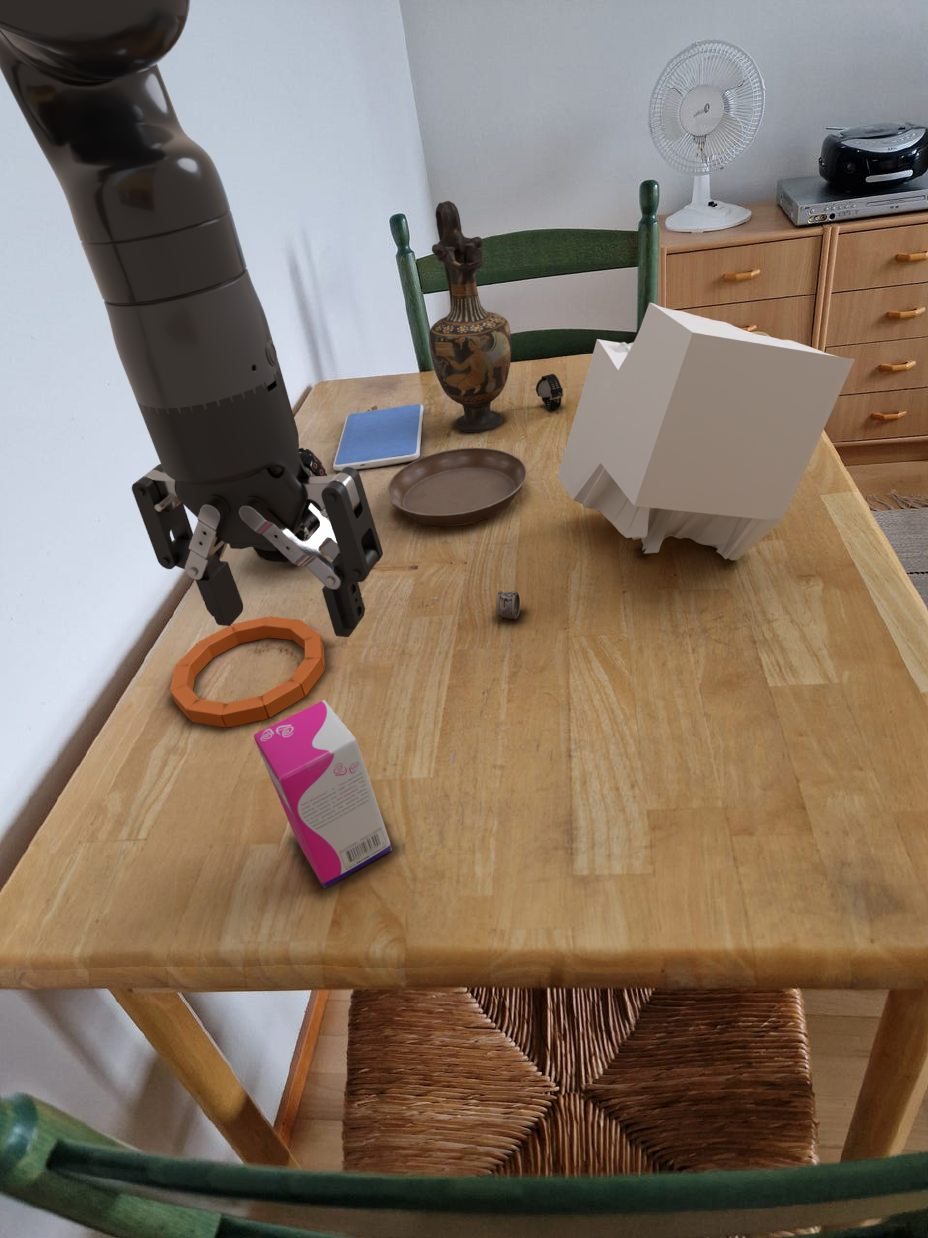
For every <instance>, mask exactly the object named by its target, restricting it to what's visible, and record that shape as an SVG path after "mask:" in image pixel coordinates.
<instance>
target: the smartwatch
mask: <svg viewBox="0 0 928 1238" xmlns="http://www.w3.org/2000/svg"><path fill="white" fill-rule="evenodd" d="M535 392H536V394H537V397H539V398H541V401H542V402H543V404H544V405H545V407H546V408H547V410H549V411H550V410H554V409H559V408H560V407H561V405H562V398H563V397H564V390H563V387H562V385H561V382H560V380H559V378H558V377H557V375H556V374H555V373H551V374H550V373H549V374H546V375H543V376H541V378H540V379H539V380H538V381H537V384H536V385H535Z"/></svg>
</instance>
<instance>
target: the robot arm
mask: <svg viewBox="0 0 928 1238" xmlns="http://www.w3.org/2000/svg"><path fill="white" fill-rule="evenodd" d="M190 6H191V0H0V71H1V73H2V76H3V77H4V79H5V82H6V84H7V86H8V88H9V90H10V92H11V94H12V96H13V98H14V100H15V102H16V103H17V105H18V108H19V110H20V112H21V114H22V116H23V118H24V120H25V121H26V123H27V125H28V127H29V129H30V132H31V133H32V135H33V136H34V139H35V140H36V142H37V145H38V146H39V148H40V150H41V151H42V154H43V155H44V158H45V159H46V160H47V162H48V164H49V166H50V168H51V169H52V172H53V173H54V175H55V177H56V179H57V181H58V183H59V185H60V187H61V189H62V191H63V192H62V193H63V194H64V197H65V199H66V201H67V205H68V207H69V211H70V214H71V218H72V220H73V223H74V227H75V230H76V233H77V235H78V239H79V241H81V242H80V244H81V247H82V250H83V251H84V254H85V258H86V259H87V262H88V265H89V268H90V270H91V273H92V275H93V277H94V278H93V279H94V280H95V283H96V285H97V288H98V290H99V293H100V296H101V298H102V300H103V303H104V307H105V309H106V313H107V317H108V321H109V325H110V329H111V332H112V338H113V341H114V345H115V348H116V351H117V355H118V357H119V359H120V362H121V365H122V367H123V370H124V373H125V375H126V377H127V380H128V383H129V386H130V388H131V391H132V393H133V395H134V399H135V400H136V403H137V405H138V409H139V411H140V413H141V416H142V420H143V421H144V424H145V426H146V429H147V432H148V434H149V437H150V439H151V442H152V444H153V447H154V450H155V452H156V455H157V457H158V460H159V462H160V463H159V464H157V465H156V466H155V467H153V468H152V469H150V470H149V471H148V472H147V473H146V474H144V475H143V476H142V477H140V478H139V479H138V480H136V481H135V482H134V483H132V485H131V491H132V494H133V497H134V500H135V502H136V505H137V509H138V511H139V513H140V516H141V518H142V521H143V524H144V527H145V530H146V532H147V535H148V538H149V542H150V543H151V546H152V548H153V552H154V554H155V558H156V560H157V562H158V564H159V565H160V566H161V567H162V568H164V569H166V570H173V569H174V568H175V567H177V568H179V569H182V570H184V572H185V573H186V575H187V576H188V577H189V578H191V579H192V580H195V583H196V585H197V589H198V591H199V593H200V596H201V597H202V601H203V603H204V606H205V608H206V610H207V612H208V613H209V614H210V616H211V617H212V618H213V619H214V620H215V623H216V624H217V625H218V626H222V627H224V626H225V627H228V626H230V625H232V624H234V622H235V621H236V620H237V619H238V618H239V617H240V616H241V614H242V613H243V611H244V603H243V599H242V596H241V594H240V592H239V591H240V590H239V589H238V587H237V583H236V581H235V577H234V575H233V572H232V570H231V566H230V564H229V562H228V561H224V560H221V559H222V558H223V557H224V554H225V552H226V549H227V547H228V545H229V548H230V549H231V550H232V549H233V550H244V549H248V548H253V547H255V548H258V549H262V550H267V551H277V550H279V551H280V552H281V553H282V554H283V555H284V556H286V557H287V558H288V559H289V560H290V561H289V562H290V563H292V564H293V565H294V566H296V567H297V566H298V567H301V566H303V567H304V568H306V569H307V570H308V571H309V572H310V573H311V574H312V575H313V576H314V577H315V578H316V579H318V581H320V583H322V584H323V585H324V586H323V587H322V588H321V592H322V596H323V598H324V602H325V605H326V608H327V612H328V615H329V618H330V622H331V626H332V629H333V631H334V635H335V636H336V637H339V638H340V637H341V638H350V636H351V635H352V634H353V632H354V631H355V629H356V628H357V627H358V626H359V624H360V622H361V621H362V619H363V618H364V616H365V613H366V606H365V603H364V599H363V596H362V593H361V588H360V584H359V583H363V582H364V581H366V580H367V578H368V576H370V573H371V572H372V570H373V569H374V568H375V566H376V564H377V563H378V562H380V560H381V558H382V557H383V555H384V550H383V547H382V544H381V541H380V537H379V533H378V531H377V528H376V525H375V524H376V523H375V520H374V517H373V514H372V511H371V507H370V503H369V501H368V497H367V494H366V491H365V487H364V484H363V481H362V478H361V475H360V473H359V471H357V470H358V469H354V468H351V467H345V468H343V469H342V470H341V471H338V473H337V474H335V475H328V476H314V477H312V475H311V474H310V473H309V471H308V470H307V469H306V468H305V466H304V465H303V463H302V461H301V459H300V455H299V448H300V439H299V438H300V436H299V429H298V426H297V423H296V419H295V416H294V412H293V408H292V405H291V400H290V398H289V394H288V391H287V387H286V384H285V383H286V382H285V379H284V376H283V372H282V369H281V366H280V362H279V359H278V355H277V350H276V346H275V344H274V340H273V337H272V334H271V333H272V332H271V330H270V326H269V322H268V320H267V317H266V313H265V311H264V308H263V304H262V303H261V300H260V298H259V296H258V293H257V291H256V289H255V285H254V284H253V281H252V278H251V276H250V273H249V270H248V268H247V262H246V259H245V256H244V252H243V248H242V245H241V242H240V238H239V235H238V231H237V227H236V225H235V224H236V223H235V220H234V217H233V212H232V211H231V206H230V202H229V199H228V196H227V192H226V190H225V185H224V184H223V183H224V182H223V181H222V177H221V176H220V173H219V170H218V169H217V167H216V164H215V162H214V160H213V159H212V156H210V154H209V153H208V152H207V151H206V150H205V149H204V148H203V146H200V145H199V143H197V142H196V141H194V140H193V139H192V138H191V137H190V136H189V135H188V134H187V133H186V132H185V131H184V129H183V126H182V125H181V122H180V121H179V118H178V116H177V112H176V111H175V108H174V105H173V102H172V101H171V97H170V95H169V93H168V89H167V87H166V85H165V84H166V83H165V81H164V79H163V76H162V73H161V71H160V69H159V66H158V63H159V62H161V61H162V60H164V59H165V57H166V56H167V55H168V54H169V53H171V51H173V49H174V48H175V46H176V45H177V43H178V42H179V40H180V38H181V37H182V34H183V32H184V30H185V27H186V24H187V21H188V17H189V13H190ZM312 500H313V501H315V502H316V503H317V504H318V505H319V506H320V508H321V511H319V510H318V509H317V508H316V507H315V506H314V505H313V504H312V503H311V501H312ZM186 509H187V510H189V511H190V513H192V514H193V516H195V517H196V518H197V523H196V526H195V528H194V531H193V529H192V526H191V523H190V519H189V516H188V513H187V511H186ZM301 524H303V525H304V526H305V527H306V528H307V529H308V531H309V536H308V538H307V539H306V540H305V541H301V540H299V539H298V538H297V537H296V536H295V534H296V533H297V532H298V530H299V528H300V526H301ZM171 534H172V536H171ZM172 538H173V539H172ZM320 550H321V551H322V552H323V553H324V554H325V555H326V556H327V557H328V558H329V559H330V560H331V561H330V560H329V559H328V558H327V557H326V556H325V555H324V554H323V553H322V552H321V551H320Z"/></svg>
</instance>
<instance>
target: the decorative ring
mask: <svg viewBox="0 0 928 1238" xmlns="http://www.w3.org/2000/svg"><path fill="white" fill-rule="evenodd" d="M495 603H496V605H495V606H496V607H495V608H496V615H497V618H498V619H500V620H502V619H503V618H505V619H511V620H513V619H514V620H518V618H519V615H520V611H521V598H520V592H518V591H517V590H516V591H505V592H504V591H503V590H498V591H497V596H496V602H495ZM506 603H507V604H506Z"/></svg>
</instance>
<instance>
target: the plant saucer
mask: <svg viewBox="0 0 928 1238" xmlns="http://www.w3.org/2000/svg"><path fill="white" fill-rule="evenodd" d="M527 471H528V470H527V467H526V464H525V463H524V462H523V460H521V458H519V457H518V456H516V455H515V454H512V453H510V452H507V451H504V450H500V449H495V448H489V447H487V448H486V447H461V448H453V449H447V450H443V451H439V452H435V453H432V454H429V455H426V456H423V457H421V458H418V459H416V460H414V461H411V463H408V464H407V465H405V466H404V467H402V468H400V470H399V471H397V472H396V473H395V474H394V475H393V476H392V477H391V479H390V481H389V482H388V485H387V490H386V491H387V492H386V493H387V497H388V499H389V500H390V502H391V503H392V505H394V506H395V507H396V508H397V509H398V510H400V511H401V512H402V513H404V514H405V515H406V516H408V517H410V518H411V519H412V520H415V521H417V522H420V523H422V524H425V525H429V526H430V525H431V526H437V527H438V526H439V527H453V526H463V525H468V524H469V525H470V524H474V523H476V522H480V521H483V520H486V519H488V518H491V517H492V516H495V515H496V514H498V513H499V512H501V511H502V510H504V509H505V508H506V507H508V506H509V505H510V503H511V502H512V501H513V500H514V499H515V498H516V497H517V496H518V495H519V493H520V491H521V489H523V486H524V484H525V481H526V479H527V474H528V472H527Z"/></svg>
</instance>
